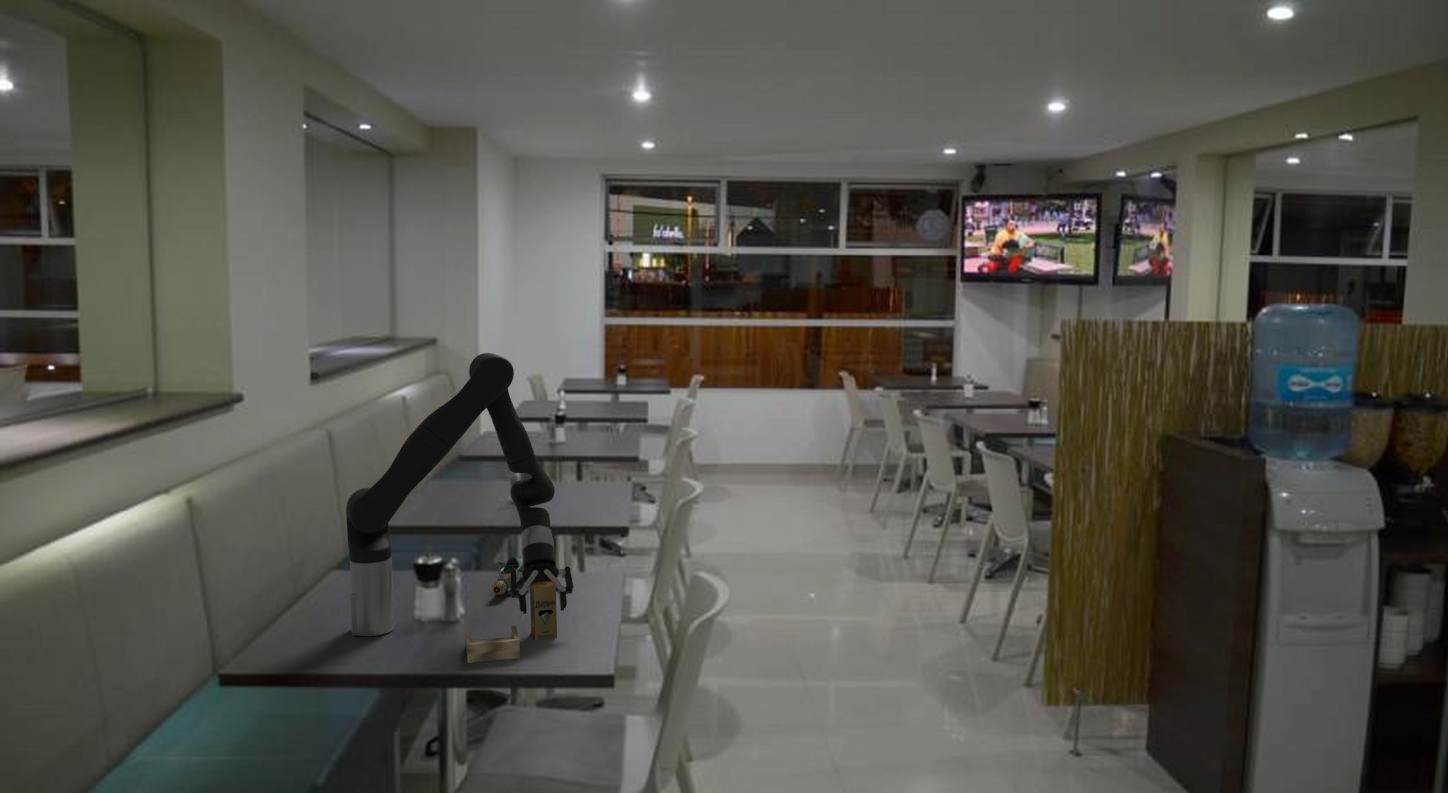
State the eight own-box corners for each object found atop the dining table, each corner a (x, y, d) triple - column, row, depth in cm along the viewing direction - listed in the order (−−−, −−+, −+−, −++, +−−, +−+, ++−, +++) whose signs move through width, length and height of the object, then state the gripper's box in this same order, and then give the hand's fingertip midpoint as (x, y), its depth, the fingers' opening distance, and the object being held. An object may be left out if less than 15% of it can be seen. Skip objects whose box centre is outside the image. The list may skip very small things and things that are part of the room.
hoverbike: (543, 575, 292) (542, 546, 292) (514, 603, 268) (513, 571, 267) (509, 574, 294) (508, 545, 293) (478, 602, 269) (477, 570, 268)
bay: (467, 662, 226) (467, 644, 226) (466, 645, 237) (465, 628, 237) (519, 657, 229) (519, 640, 229) (516, 640, 240) (515, 623, 239)
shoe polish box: (531, 633, 245) (529, 582, 244) (552, 630, 247) (551, 580, 246) (535, 639, 241) (534, 588, 239) (556, 637, 242) (555, 586, 241)
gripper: (508, 543, 247) (512, 605, 237) (569, 538, 251) (576, 600, 241) (507, 559, 252) (511, 621, 243) (566, 555, 256) (573, 615, 247)
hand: (544, 610), depth 242 cm, fingers open, 8 cm apart
